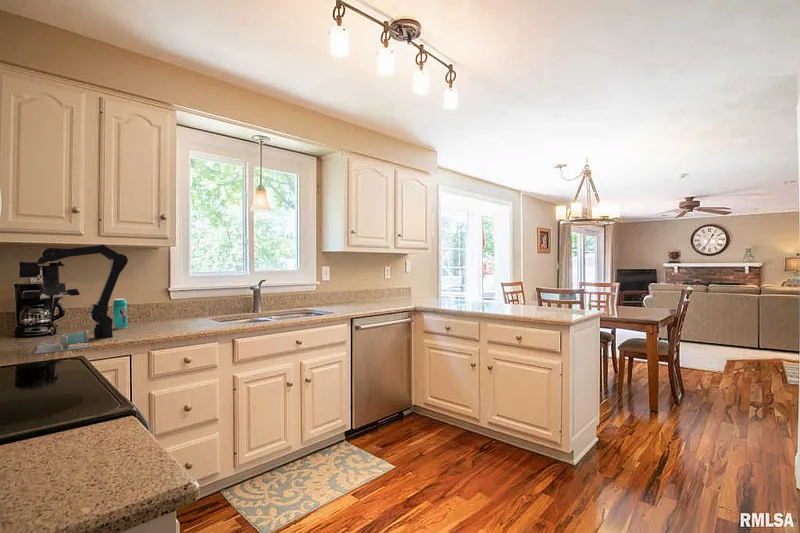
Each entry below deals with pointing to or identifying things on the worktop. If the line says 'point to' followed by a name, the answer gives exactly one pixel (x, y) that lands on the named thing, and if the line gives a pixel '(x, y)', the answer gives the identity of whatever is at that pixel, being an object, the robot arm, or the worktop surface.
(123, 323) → the beverage can
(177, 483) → the worktop surface
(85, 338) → the fence fixed
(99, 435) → the worktop surface
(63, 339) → the fence gate
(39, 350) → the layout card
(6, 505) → the worktop surface
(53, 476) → the worktop surface
